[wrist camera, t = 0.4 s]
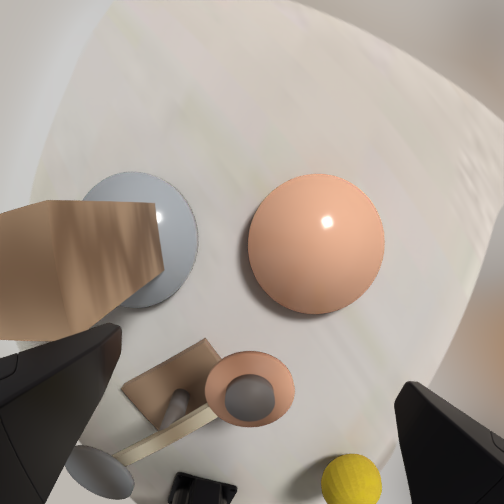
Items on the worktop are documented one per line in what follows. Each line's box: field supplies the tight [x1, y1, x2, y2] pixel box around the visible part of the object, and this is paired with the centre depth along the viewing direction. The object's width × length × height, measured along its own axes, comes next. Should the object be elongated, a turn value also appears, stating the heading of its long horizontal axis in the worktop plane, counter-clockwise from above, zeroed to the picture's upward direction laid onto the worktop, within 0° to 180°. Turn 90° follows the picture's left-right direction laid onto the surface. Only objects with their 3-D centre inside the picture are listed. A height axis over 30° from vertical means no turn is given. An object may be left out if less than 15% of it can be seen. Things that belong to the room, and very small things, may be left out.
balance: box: [65, 338, 295, 500], centre depth 21 cm, size 19×6×9 cm, turn 123°
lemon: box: [321, 454, 382, 504], centre depth 22 cm, size 6×6×8 cm
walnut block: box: [0, 200, 165, 341], centre depth 15 cm, size 5×5×13 cm
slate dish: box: [83, 172, 198, 308], centre depth 23 cm, size 10×10×1 cm
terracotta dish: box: [248, 174, 385, 314], centre depth 23 cm, size 10×10×1 cm
